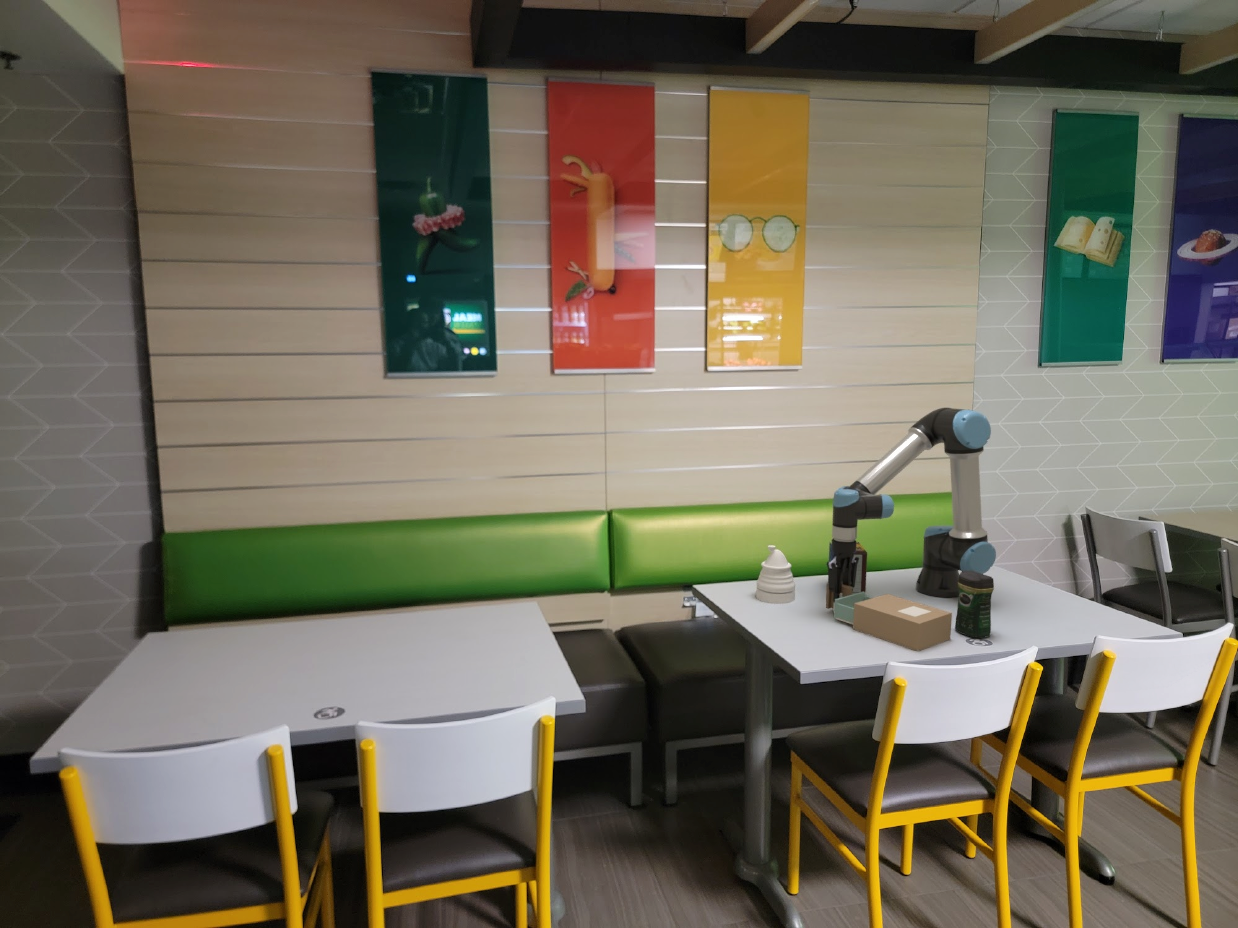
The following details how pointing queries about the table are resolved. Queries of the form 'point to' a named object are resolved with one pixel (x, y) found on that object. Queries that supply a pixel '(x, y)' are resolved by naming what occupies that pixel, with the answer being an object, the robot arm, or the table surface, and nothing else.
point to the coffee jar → (974, 604)
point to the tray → (844, 603)
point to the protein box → (861, 567)
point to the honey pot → (775, 579)
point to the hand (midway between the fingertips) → (840, 611)
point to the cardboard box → (902, 621)
